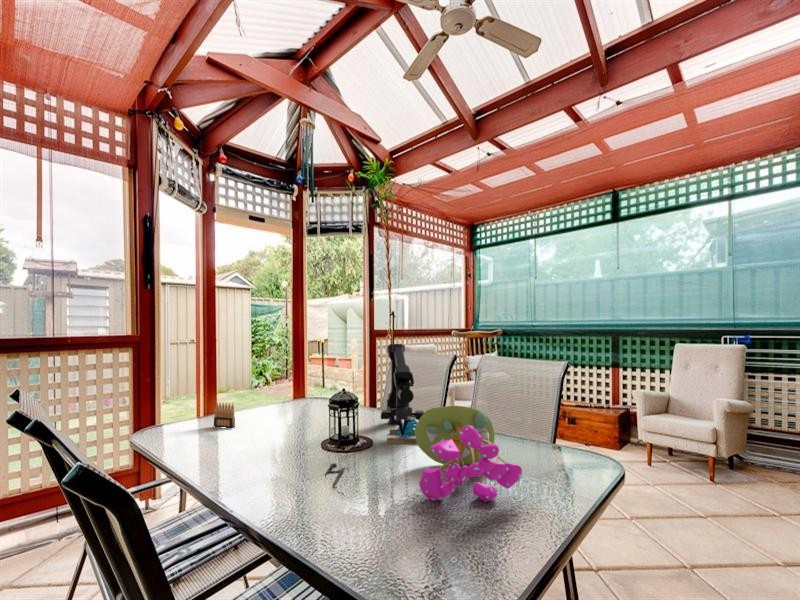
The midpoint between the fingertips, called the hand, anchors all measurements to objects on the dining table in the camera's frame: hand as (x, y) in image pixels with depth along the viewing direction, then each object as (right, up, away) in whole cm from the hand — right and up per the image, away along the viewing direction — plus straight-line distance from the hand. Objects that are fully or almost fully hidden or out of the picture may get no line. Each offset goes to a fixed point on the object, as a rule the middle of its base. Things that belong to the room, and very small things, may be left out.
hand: (402, 435), depth 162 cm
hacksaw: (-22, 0, -43) cm, 48 cm away
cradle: (+3, -2, 0) cm, 3 cm away
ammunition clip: (-85, -3, +17) cm, 87 cm away
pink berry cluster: (+18, +1, -48) cm, 51 cm away
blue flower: (+3, -2, +3) cm, 4 cm away
